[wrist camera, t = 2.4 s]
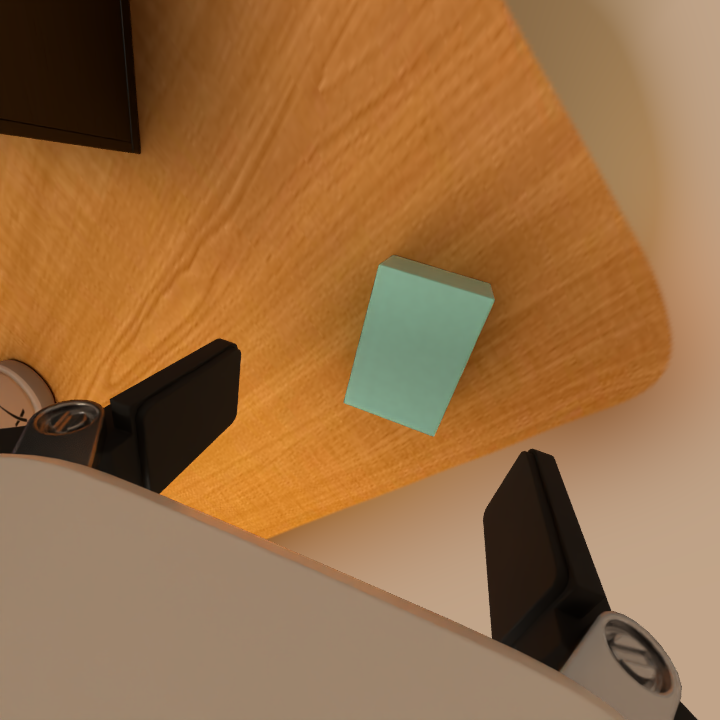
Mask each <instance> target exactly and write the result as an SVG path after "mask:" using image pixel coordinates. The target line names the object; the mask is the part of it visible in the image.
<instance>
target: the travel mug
mask: <svg viewBox="0 0 720 720" xmlns="http://www.w3.org/2000/svg"><path fill="white" fill-rule="evenodd" d="M51 404H55V402H54V398H53V395H52V393H51V391H50V389H49V388H48V386H47V384H46V383H45V382H44V381H43V379H42V378H41V377H40V376H39V375H38V374H37V373H36V372H35V371H33V370H32V369H31V368H29V367H28V366H26V365H25V364H23V363H21V362H18V361H15V360H4V361H1V362H0V429H2V428H11V427H19V426H26V424H27V422H28V420H29V419H30V418H31V417H32V415H33V414H35V413H36V412H38V411H39V410H41V409H42V408H45V407H47V406H49V405H51Z"/></svg>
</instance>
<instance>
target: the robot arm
mask: <svg viewBox="0 0 720 720" xmlns="http://www.w3.org/2000/svg"><path fill="white" fill-rule="evenodd" d="M240 362H241V351H240V350H239V349H238V347H237V345H236V344H235V343H232V342H229V341H226V340H223V339H216V340H214V341H213V342H211V343H209V344H207V345H205V346H204V347H202V348H200V349H198V350H197V351H195V352H193V353H191V354H189V355H188V356H186V357H184V358H182V359H181V360H179V361H177V362H175V363H173V364H172V365H170V366H168V367H166V368H165V369H163V370H161V371H159V372H157V373H156V374H154V375H152V376H150V377H149V378H147V379H145V380H143V381H141V382H140V383H138V384H136V385H134V386H133V387H131V388H129V389H127V390H125V391H124V392H122V393H120V394H118V395H117V396H115V397H113V398H111V399H110V405H108V406H106V407H105V408H103V407H102V406H101V405H100V404H98V403H96V402H93V401H88V400H69V401H62V402H58V403H55V404H51V405H49V406H47V407H45V408H42V409H41V410H39V411H38V412H36V413H35V414H33V415H32V417H31V418H30V419H29V420H28V422H27V424H26V426H19V427H11V428H2V429H0V720H697V719H696V718H695V717H694V715H693V714H692V713H691V712H690V711H689V710H688V709H687V708H686V707H685V706H684V705H683V704H682V703H681V702H680V699H681V690H682V686H681V683H680V679H679V675H678V672H677V671H676V669H675V667H674V665H673V663H672V661H671V659H670V658H669V656H668V655H667V653H666V652H665V651H664V649H663V648H662V647H661V645H660V644H659V643H658V642H657V641H656V640H655V639H654V638H653V636H652V635H651V634H650V633H649V632H648V631H647V630H645V629H644V628H643V627H641V626H640V625H639V624H638V623H637V622H635V621H634V620H632V619H630V618H629V617H627V616H625V615H623V614H620V613H617V612H614V611H611V609H610V606H609V604H608V601H607V598H606V596H605V593H604V590H603V587H602V585H601V582H600V579H599V577H598V574H597V571H596V568H595V566H594V563H593V561H592V558H591V555H590V552H589V550H588V547H587V544H586V542H585V539H584V536H583V534H582V531H581V528H580V525H579V523H578V520H577V518H576V515H575V512H574V510H573V507H572V504H571V502H570V499H569V496H568V494H567V491H566V488H565V486H564V483H563V480H562V478H561V475H560V472H559V469H558V467H557V464H556V461H555V459H554V457H553V456H552V455H549V454H546V453H543V452H541V451H538V450H535V449H530V450H529V451H528V452H526V451H523V452H521V454H520V455H519V457H518V458H517V460H516V461H515V463H514V464H513V466H512V468H511V469H510V471H509V473H508V474H507V476H506V477H505V479H504V480H503V482H502V484H501V485H500V487H499V488H498V490H497V492H496V493H495V495H494V496H493V498H492V500H491V501H490V503H489V504H488V506H487V508H486V510H485V512H484V517H483V524H484V538H485V551H486V564H487V578H488V591H489V605H490V617H491V631H492V639H491V638H489V637H487V636H485V635H483V634H481V633H478V632H476V631H474V630H472V629H470V628H467V627H465V626H463V625H461V624H459V623H457V622H454V621H452V620H450V619H448V618H445V617H443V616H440V615H438V614H436V613H434V612H432V611H429V610H427V609H425V608H423V607H420V606H418V605H415V604H413V603H411V602H409V601H407V600H404V599H402V598H400V597H397V596H395V595H393V594H391V593H388V592H386V591H384V590H381V589H379V588H377V587H375V586H372V585H370V584H368V583H365V582H363V581H361V580H359V579H356V578H354V577H352V576H349V575H347V574H345V573H342V572H340V571H338V570H335V569H333V568H331V567H328V566H326V565H324V564H322V563H319V562H317V561H315V560H312V559H310V558H308V557H305V556H303V555H301V554H298V553H296V552H294V551H291V550H289V549H287V548H284V547H282V546H280V545H278V544H275V543H273V542H270V541H268V540H266V539H264V538H261V537H259V536H257V535H254V534H252V533H250V532H247V531H245V530H243V529H240V528H238V527H236V526H233V525H231V524H228V523H226V522H224V521H221V520H219V519H217V518H214V517H212V516H210V515H207V514H205V513H203V512H200V511H198V510H195V509H193V508H191V507H188V506H186V505H184V504H181V503H179V502H177V501H174V500H172V499H170V498H167V497H165V496H163V495H160V494H159V493H161V492H162V491H163V490H164V489H165V488H166V487H167V486H168V485H169V484H170V483H171V482H172V481H173V480H174V479H175V478H176V477H177V476H178V475H179V474H180V473H181V472H182V471H183V470H184V469H185V468H186V467H187V466H188V465H190V464H191V463H192V462H193V461H194V460H195V459H196V458H197V457H198V456H199V455H200V454H201V453H202V452H203V451H204V450H205V449H206V448H207V447H208V446H209V445H210V444H211V443H212V442H213V441H214V440H215V439H216V438H217V437H218V436H219V435H220V434H221V433H222V432H224V431H225V430H226V429H227V428H228V427H229V426H230V425H231V424H232V423H233V421H234V420H235V418H236V415H237V404H238V390H239V376H240Z"/></svg>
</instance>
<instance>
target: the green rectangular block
mask: <svg viewBox="0 0 720 720" xmlns="http://www.w3.org/2000/svg"><path fill="white" fill-rule="evenodd" d="M494 301H495V299H494V295H493V291H492V288H491V284H489V283H486V282H483V281H479V280H476V279H473V278H469V277H466V276H463V275H459V274H456V273H453V272H449V271H446V270H443V269H439V268H436V267H432V266H429V265H426V264H422V263H419V262H416V261H412V260H409V259H406V258H402V257H399V256H396V255H392V256H391V257H389V258H388V259H386V260H385V261H383V262H382V263H380V264H379V266H378V270H377V274H376V278H375V282H374V286H373V290H372V293H371V297H370V301H369V305H368V309H367V313H366V317H365V321H364V325H363V329H362V332H361V336H360V340H359V344H358V348H357V352H356V356H355V360H354V364H353V368H352V371H351V375H350V379H349V383H348V387H347V391H346V395H345V399H344V403H345V404H348V405H351V406H353V407H356V408H359V409H361V410H364V411H367V412H369V413H372V414H375V415H377V416H380V417H383V418H385V419H388V420H391V421H393V422H396V423H399V424H401V425H404V426H407V427H409V428H412V429H415V430H417V431H420V432H422V433H425V434H428V435H430V436H435V433H436V431H437V429H438V427H439V424H440V422H441V420H442V418H443V415H444V413H445V411H446V409H447V406H448V404H449V402H450V400H451V397H452V395H453V393H454V391H455V388H456V386H457V384H458V382H459V380H460V377H461V375H462V373H463V371H464V368H465V366H466V364H467V362H468V359H469V357H470V355H471V353H472V350H473V348H474V346H475V344H476V341H477V339H478V337H479V335H480V332H481V330H482V328H483V326H484V323H485V321H486V319H487V317H488V314H489V312H490V310H491V308H492V305H493V303H494Z"/></svg>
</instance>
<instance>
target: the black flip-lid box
mask: <svg viewBox="0 0 720 720" xmlns="http://www.w3.org/2000/svg"><path fill="white" fill-rule="evenodd" d="M0 134H6V135H13V136H19V137H26V138H33V139H40V140H47V141H53V142H60V143H67V144H74V145H81V146H87V147H94V148H101V149H108V150H114V151H121V152H128V153H135V154H140V142H139V128H138V115H137V101H136V88H135V74H134V61H133V47H132V34H131V20H130V7H129V0H0Z"/></svg>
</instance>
